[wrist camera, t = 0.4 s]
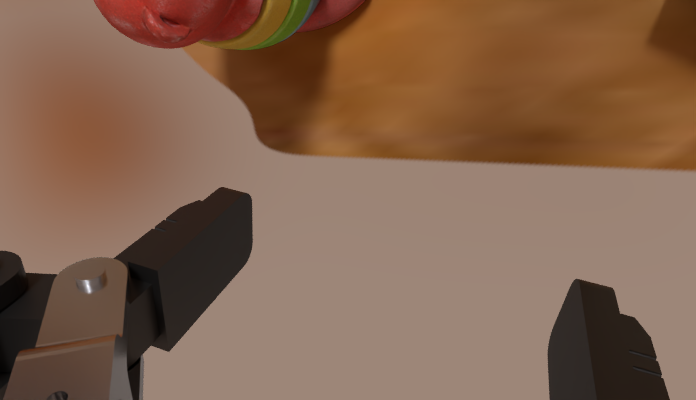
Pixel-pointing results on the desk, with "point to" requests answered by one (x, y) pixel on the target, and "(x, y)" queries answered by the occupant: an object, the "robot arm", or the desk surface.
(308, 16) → the stacking bear
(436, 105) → the desk surface
